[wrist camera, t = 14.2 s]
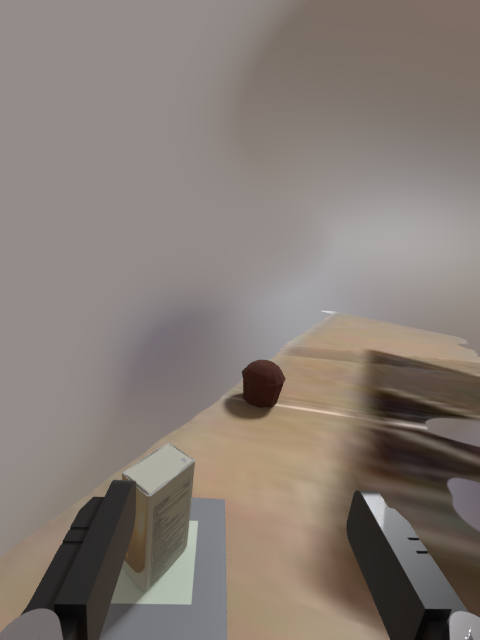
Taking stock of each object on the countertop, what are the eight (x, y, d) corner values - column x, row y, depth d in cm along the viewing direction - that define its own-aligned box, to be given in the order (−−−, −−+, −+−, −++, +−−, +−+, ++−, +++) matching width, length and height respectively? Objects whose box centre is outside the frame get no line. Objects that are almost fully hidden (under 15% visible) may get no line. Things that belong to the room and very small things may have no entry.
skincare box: (163, 525, 36) (170, 440, 33) (188, 547, 34) (198, 458, 31) (116, 567, 31) (119, 470, 28) (142, 597, 28) (149, 495, 25)
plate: (223, 510, 41) (224, 499, 41) (224, 668, 26) (227, 652, 25) (108, 505, 40) (108, 493, 39) (35, 669, 24) (35, 653, 24)
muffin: (275, 415, 68) (281, 376, 66) (232, 402, 71) (237, 364, 69) (285, 394, 79) (291, 360, 77) (247, 384, 82) (251, 351, 80)
